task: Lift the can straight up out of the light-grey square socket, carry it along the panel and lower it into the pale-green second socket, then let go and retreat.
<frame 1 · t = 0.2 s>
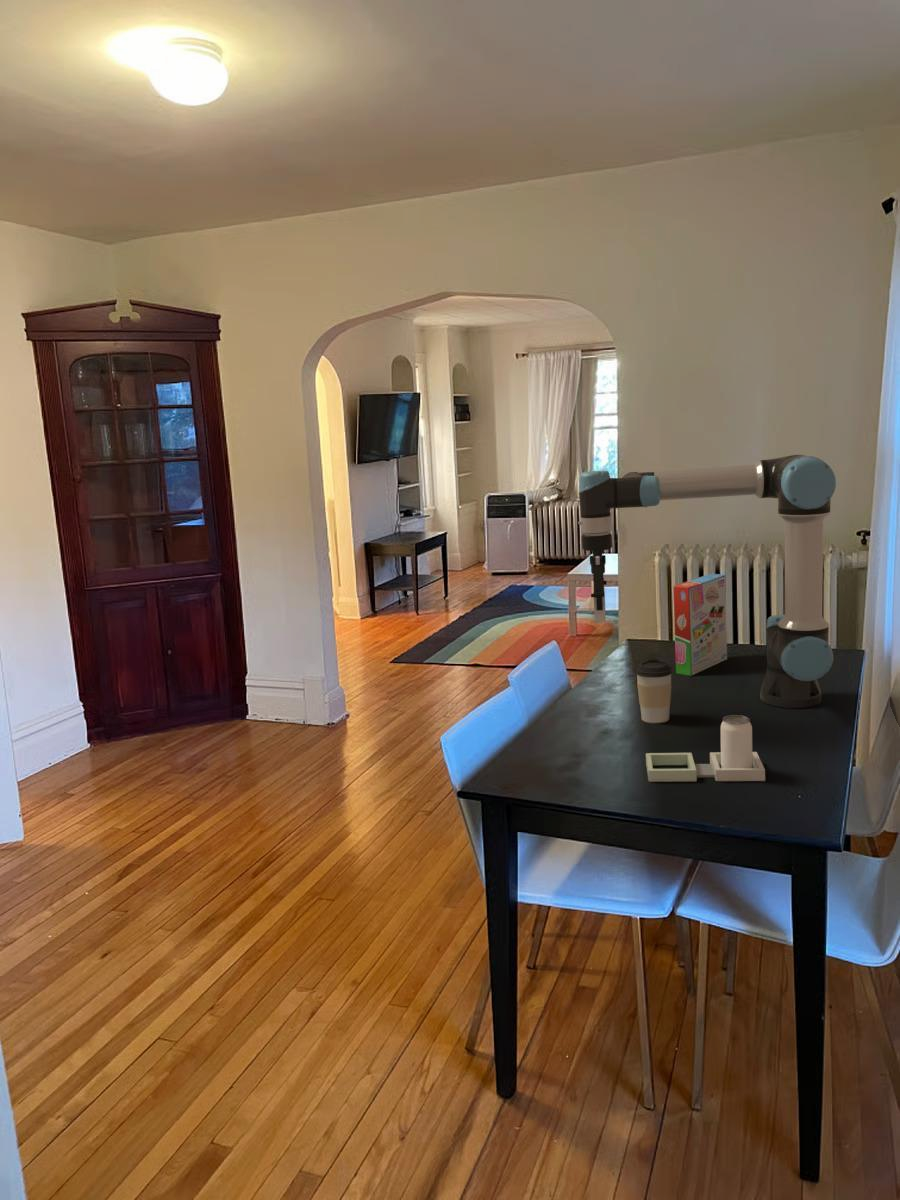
hand: (600, 616, 223), 28 cm above the table, fingers open, 13 cm apart
coffee cup: (655, 719, 227), on the table
game box: (702, 667, 268), on the table
can: (736, 772, 191), resting in socket panel
socket panel: (703, 771, 192), on the table
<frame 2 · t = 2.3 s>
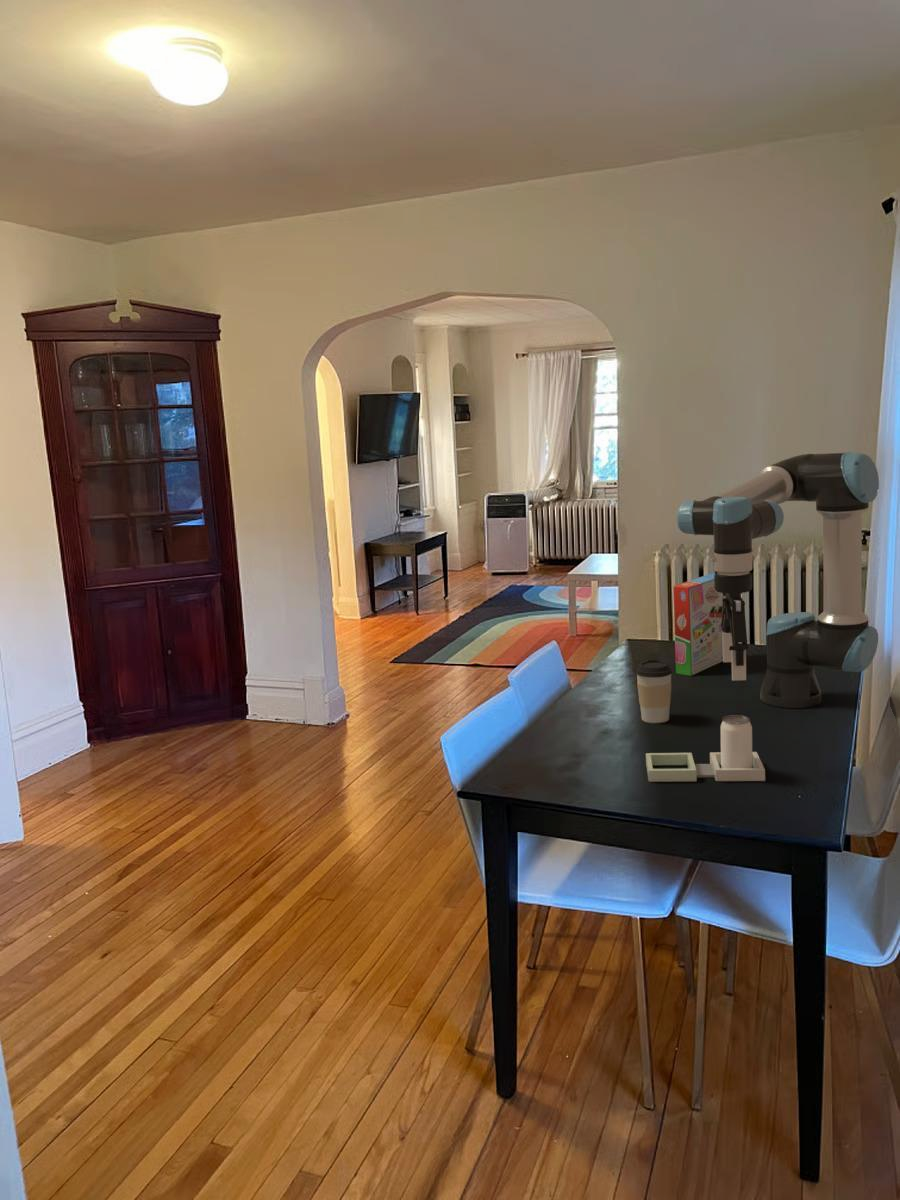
hand: (734, 670, 186), 23 cm above the table, fingers open, 13 cm apart
nothing on the table moved.
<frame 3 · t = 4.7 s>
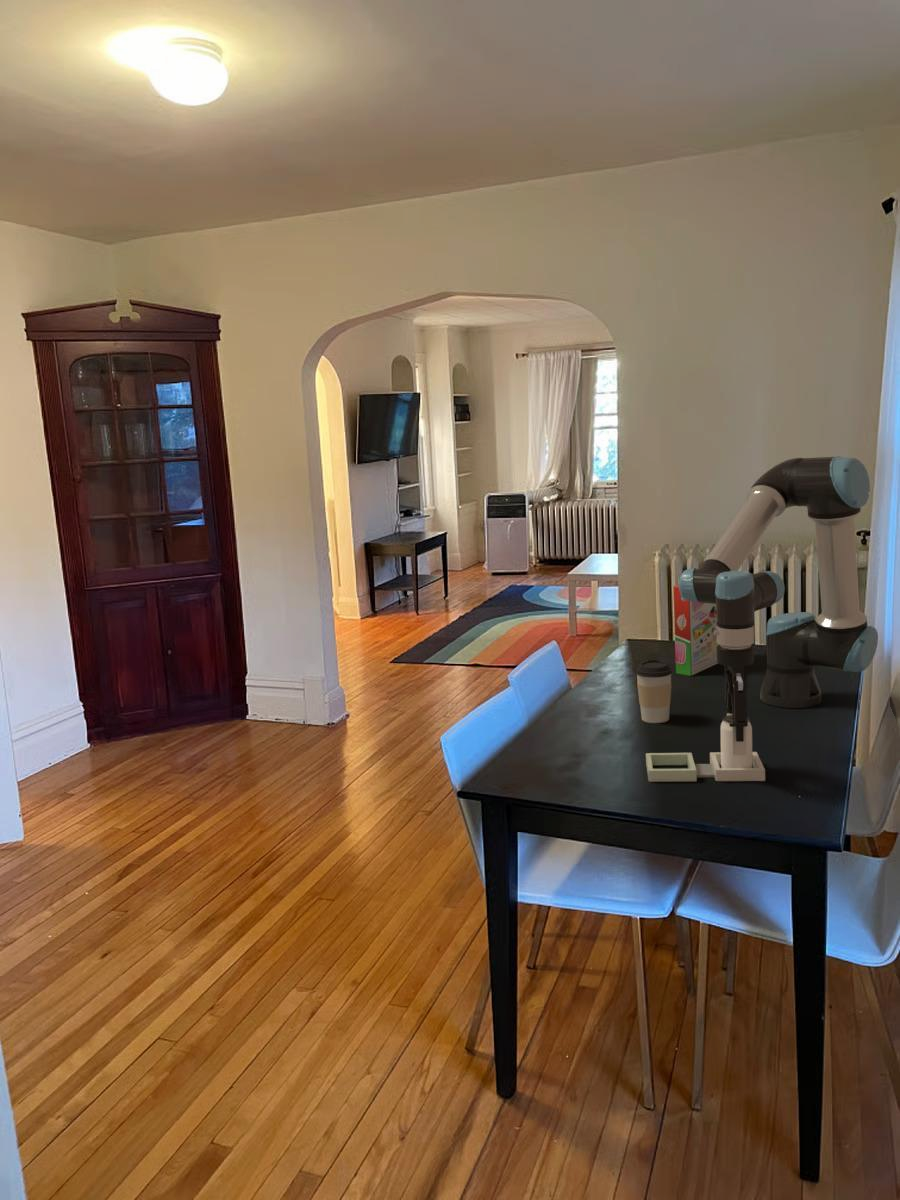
hand: (736, 747, 189), 5 cm above the table, fingers closed on can, 6 cm apart
can: (736, 772, 191), resting in socket panel, touching gripper
everything else where it was.
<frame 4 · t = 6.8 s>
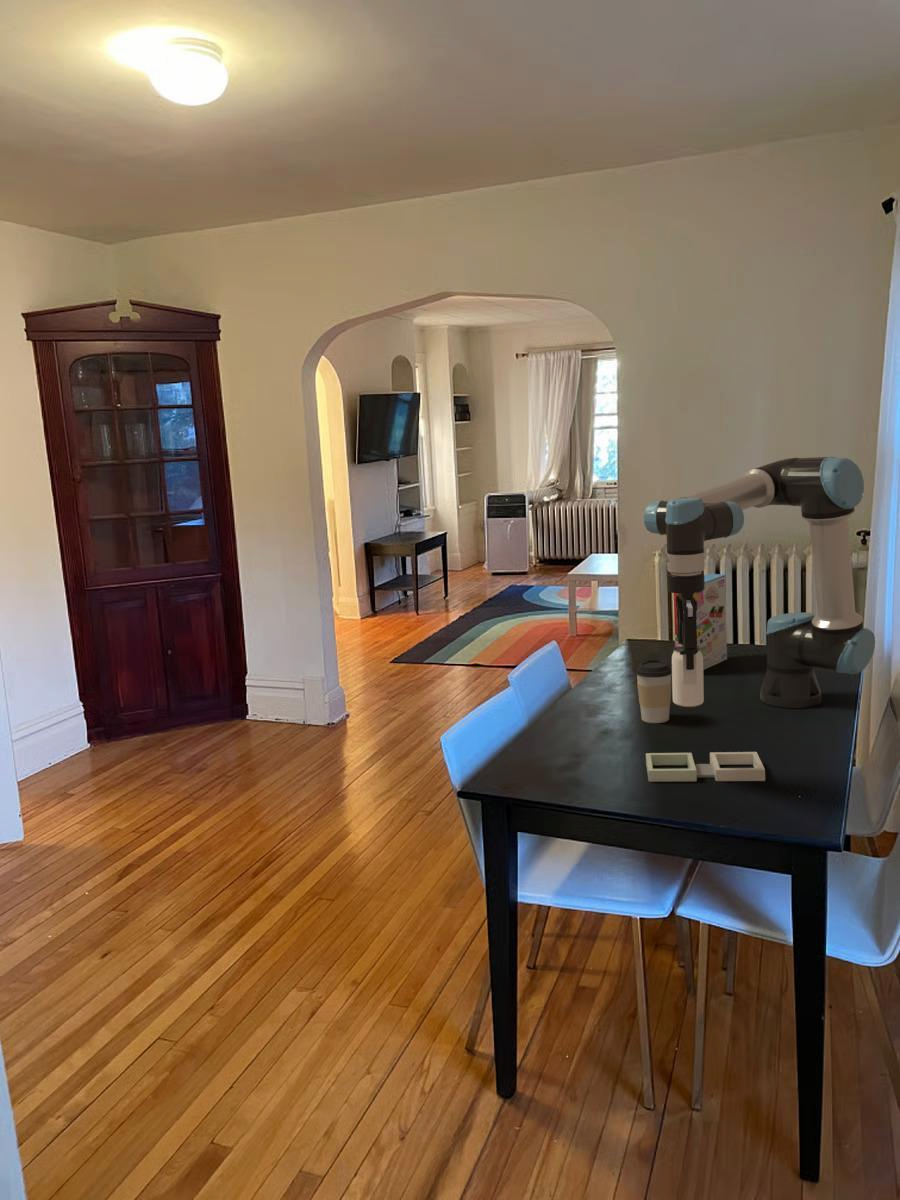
hand: (687, 678, 188), 22 cm above the table, fingers closed on can, 6 cm apart
can: (688, 703, 189), point 16 cm above the table, touching gripper
everything else where it was.
when the fingers open (6 cm above the table, at t = 9.4 s): can stays where it is, resting in socket panel.
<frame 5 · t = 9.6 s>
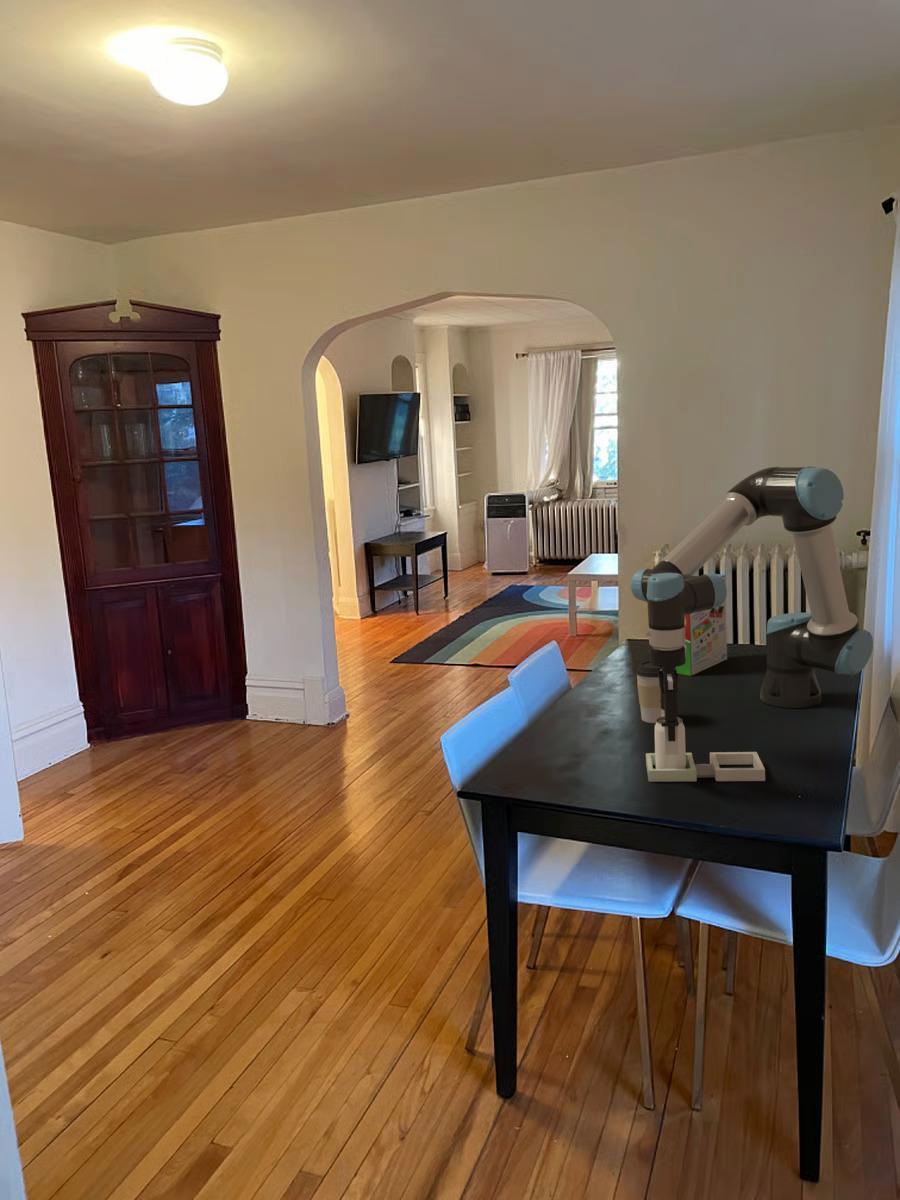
hand: (669, 745, 192), 6 cm above the table, fingers open, 8 cm apart
can: (670, 772, 193), resting in socket panel
everything else where it was.
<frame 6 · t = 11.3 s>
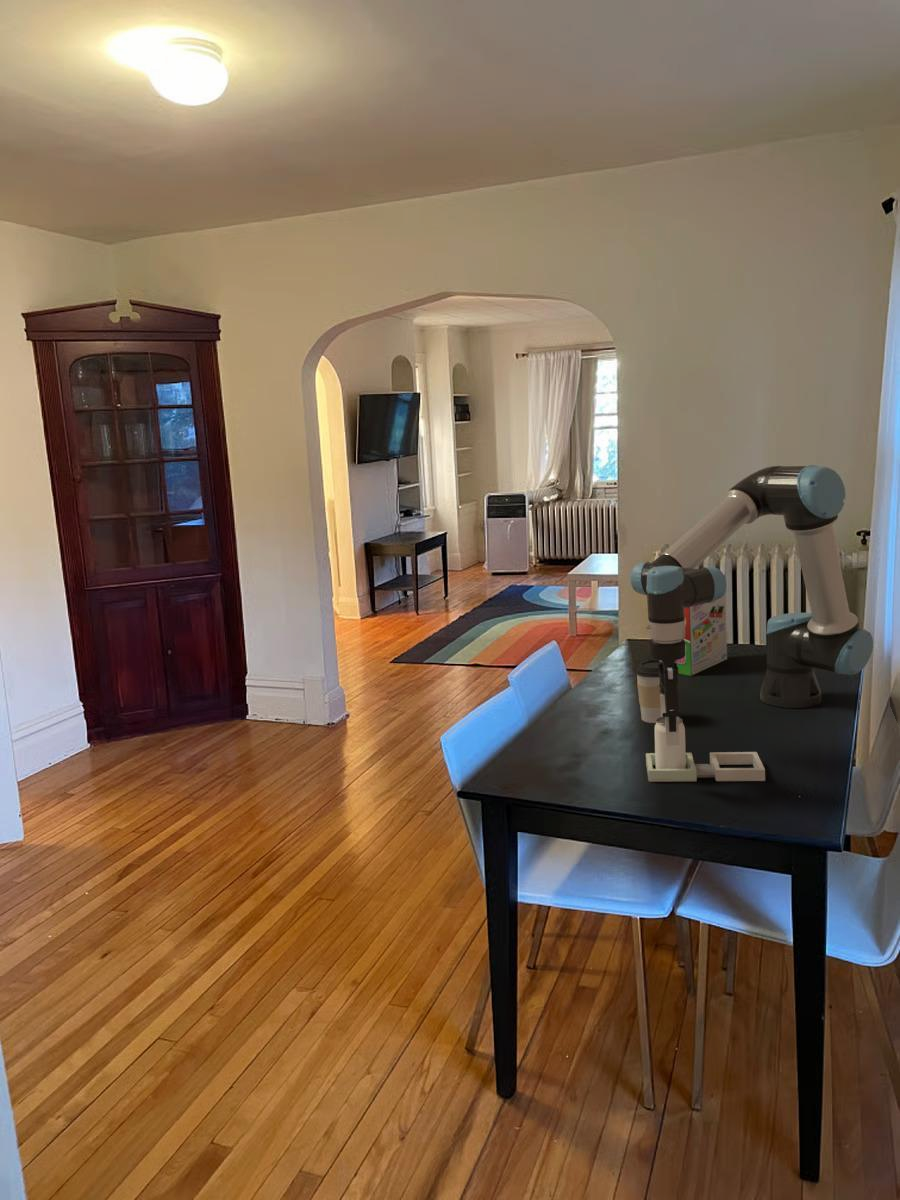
hand: (670, 733, 191), 9 cm above the table, fingers open, 13 cm apart
nothing on the table moved.
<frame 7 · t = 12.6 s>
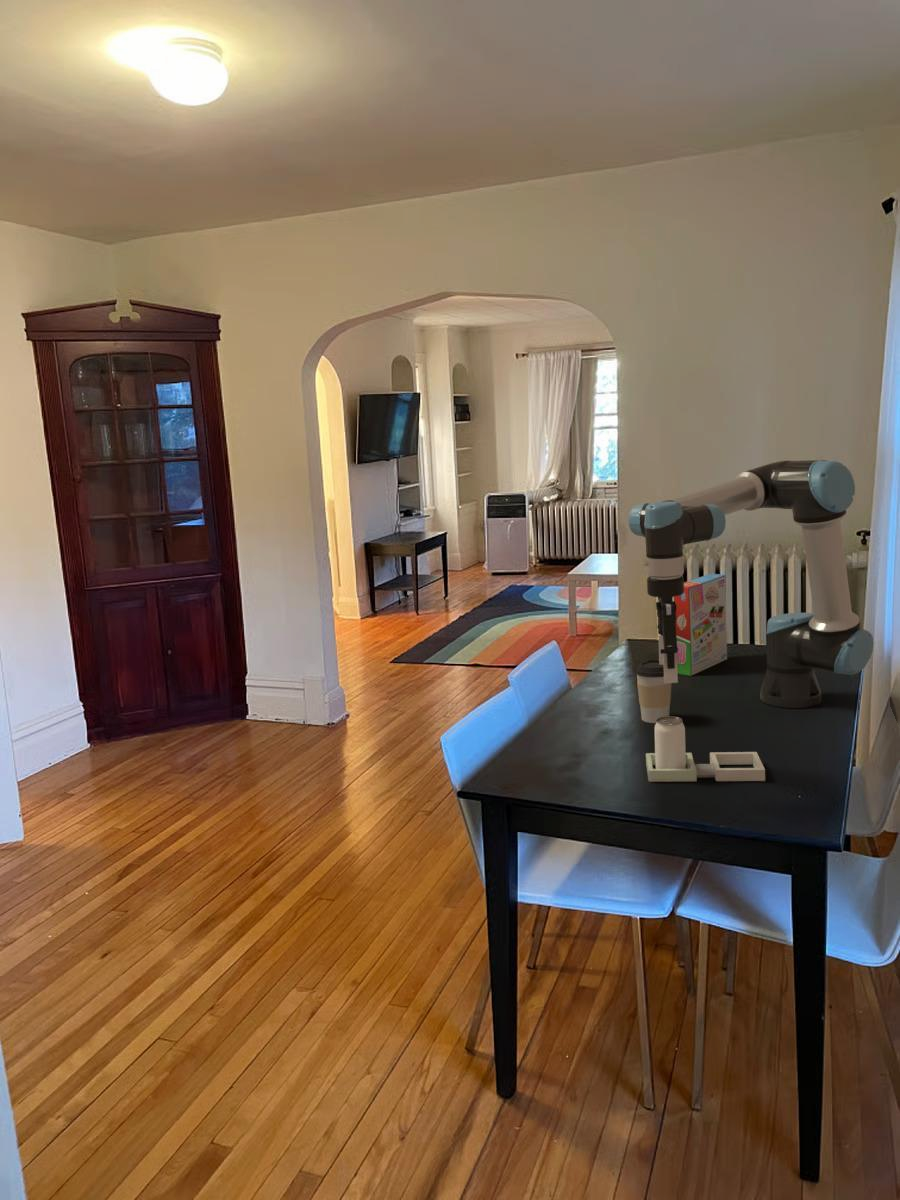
hand: (668, 673, 189), 23 cm above the table, fingers open, 13 cm apart
nothing on the table moved.
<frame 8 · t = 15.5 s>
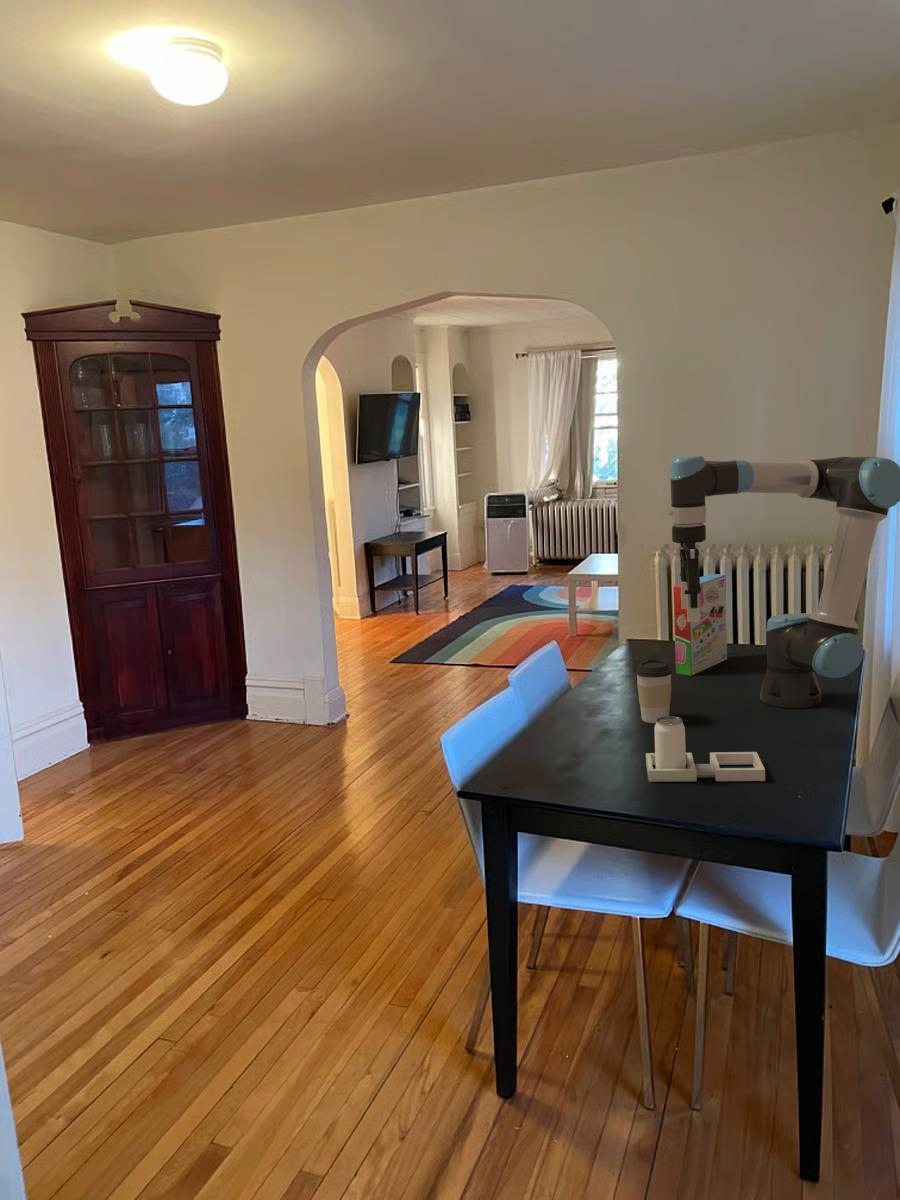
hand: (690, 614, 205), 31 cm above the table, fingers open, 13 cm apart
nothing on the table moved.
at the end: can 0.1 cm from the target spot, resting in socket panel; can tilted 0°; the gripper is holding nothing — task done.
